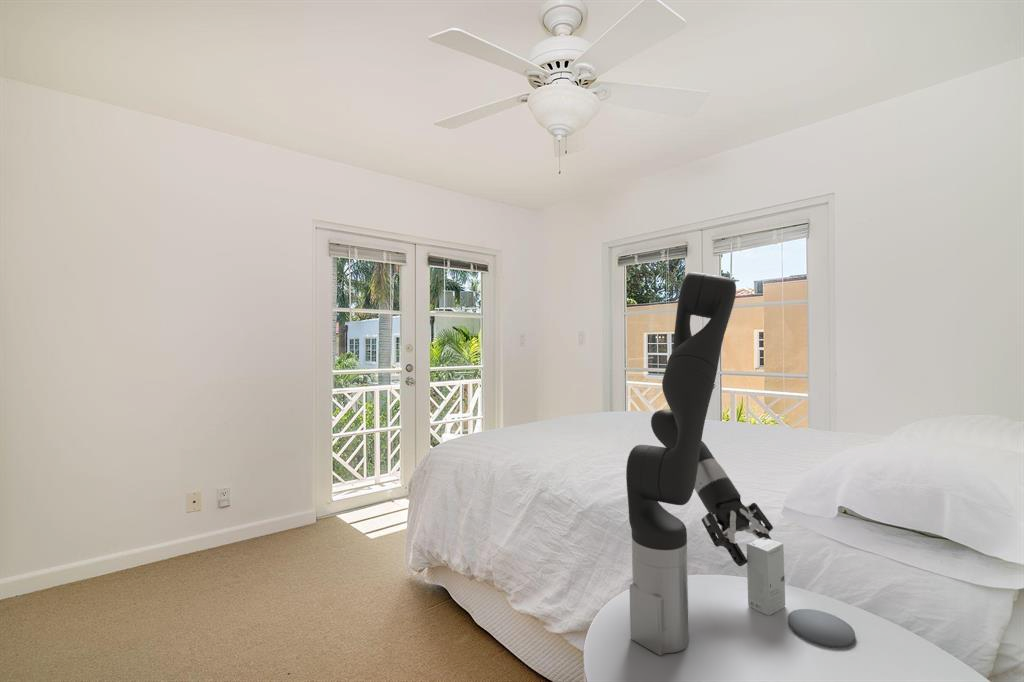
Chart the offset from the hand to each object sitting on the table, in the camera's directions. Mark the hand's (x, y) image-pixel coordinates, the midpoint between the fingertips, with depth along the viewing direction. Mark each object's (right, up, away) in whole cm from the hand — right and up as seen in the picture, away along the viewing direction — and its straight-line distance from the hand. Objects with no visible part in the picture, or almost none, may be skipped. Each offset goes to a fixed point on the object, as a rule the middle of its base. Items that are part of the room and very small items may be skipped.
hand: (759, 559), depth 95 cm
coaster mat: (+6, -8, -9) cm, 14 cm away
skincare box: (+1, -9, -1) cm, 9 cm away
